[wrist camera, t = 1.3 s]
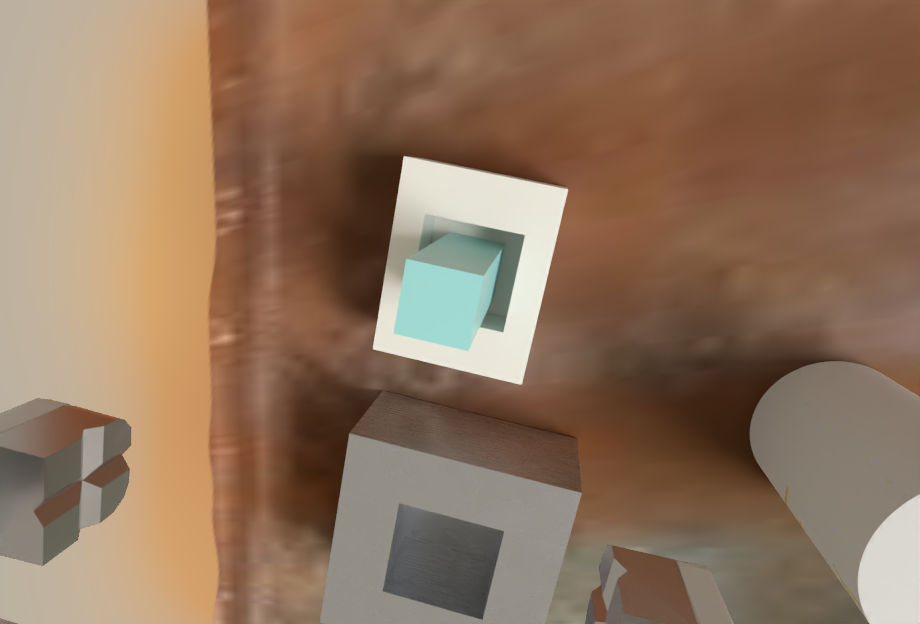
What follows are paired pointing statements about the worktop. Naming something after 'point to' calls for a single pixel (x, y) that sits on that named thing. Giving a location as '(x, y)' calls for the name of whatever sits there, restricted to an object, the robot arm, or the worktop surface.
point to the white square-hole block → (487, 217)
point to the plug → (448, 290)
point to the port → (449, 518)
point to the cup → (850, 477)
